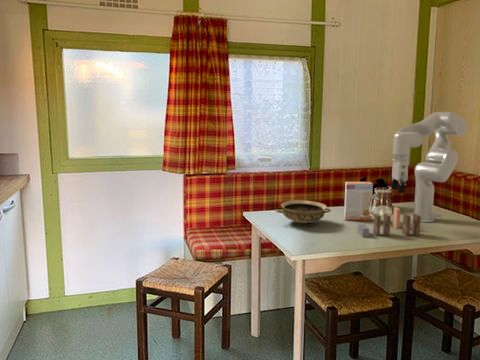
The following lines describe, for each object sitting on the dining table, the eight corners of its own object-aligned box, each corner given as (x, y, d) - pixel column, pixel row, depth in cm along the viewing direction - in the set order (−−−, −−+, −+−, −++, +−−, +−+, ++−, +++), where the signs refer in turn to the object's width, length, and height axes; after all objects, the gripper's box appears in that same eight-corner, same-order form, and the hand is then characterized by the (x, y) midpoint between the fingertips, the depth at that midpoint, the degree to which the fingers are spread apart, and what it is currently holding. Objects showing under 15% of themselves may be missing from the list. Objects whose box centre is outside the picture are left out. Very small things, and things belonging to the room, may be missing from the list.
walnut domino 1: (376, 233, 219) (377, 213, 218) (379, 236, 215) (380, 215, 213) (373, 233, 219) (374, 213, 218) (376, 236, 215) (377, 215, 213)
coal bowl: (396, 212, 262) (398, 180, 258) (365, 213, 258) (366, 181, 254) (379, 204, 281) (381, 175, 278) (349, 205, 277) (351, 176, 274)
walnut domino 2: (386, 233, 220) (387, 213, 218) (389, 236, 215) (390, 215, 213) (382, 233, 220) (384, 213, 218) (386, 236, 215) (387, 215, 213)
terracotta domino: (395, 225, 232) (396, 207, 231) (399, 228, 227) (400, 209, 226) (392, 225, 232) (393, 207, 231) (396, 228, 227) (397, 209, 226)
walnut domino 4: (415, 233, 220) (416, 213, 218) (419, 236, 215) (420, 215, 213) (411, 233, 220) (413, 213, 218) (415, 236, 215) (417, 215, 213)
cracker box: (369, 218, 247) (371, 181, 243) (371, 221, 241) (373, 183, 237) (343, 217, 248) (345, 180, 245) (345, 220, 242) (346, 182, 239)
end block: (364, 232, 221) (364, 224, 220) (368, 236, 213) (369, 228, 212) (357, 232, 221) (358, 224, 220) (362, 236, 213) (362, 228, 212)
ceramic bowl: (279, 230, 223) (279, 211, 221) (271, 218, 247) (271, 200, 245) (337, 229, 226) (338, 209, 224) (324, 217, 250) (324, 199, 248)
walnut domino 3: (405, 233, 220) (406, 213, 218) (409, 236, 215) (410, 215, 213) (402, 233, 220) (403, 213, 218) (406, 236, 215) (407, 215, 213)
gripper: (414, 159, 215) (411, 194, 218) (401, 155, 232) (399, 188, 235) (399, 159, 215) (396, 194, 218) (387, 155, 232) (384, 187, 235)
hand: (397, 191), depth 226 cm, fingers open, 9 cm apart
